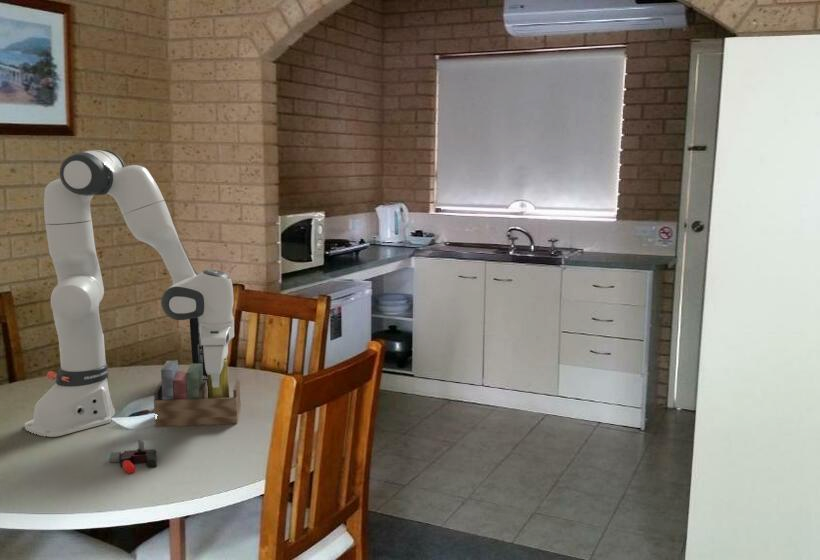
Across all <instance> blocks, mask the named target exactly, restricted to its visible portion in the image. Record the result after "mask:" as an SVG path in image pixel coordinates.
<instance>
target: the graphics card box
mask: <svg viewBox="0 0 820 560" xmlns="http://www.w3.org/2000/svg"><path fill="white" fill-rule="evenodd" d="M189 331H190V335H189V336H190V345H191V361H192V363H191V364H198V363H202V365H203V381H204V380H207V384H208V374H207V373H206V370H205V362H204V352H203V346H204V345H201V338H200V319H199V318H198V317H197V318H192V319H189Z"/></svg>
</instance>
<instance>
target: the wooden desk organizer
mask: <svg viewBox="0 0 820 560" xmlns="http://www.w3.org/2000/svg"><path fill="white" fill-rule="evenodd" d="M178 361H179V360H166V362H165V363H164V365H163V366H162V368H161V370H160V374H161V376H160V377H161V379H160V380H161V381H160V382H159V384H158V385H157V388H156V389H155V391H154V392H153V399H154V400H153V410H154V411H153V413H154V414H157V415H158V416H157V419H156V420H155V419H154V426H155V427H156V428H157V427H158V428H159V427H160V428H161V427H182V426H183V427H184V426H185V427H186V426H187V425H189V426H202V425H201V424H215V425H232V424H231V423H237V424H238V422H239V418H240V415H239V414H241V410H242V409H241V407H242V406H241V403H242V402H241V390H240V389H241V385H240V381H241V380H240V378H237V379H236V380H235V383H234V387H233V390H232V391H233V394H232V395H233V397H229V398H208V383H207V380H204V381H203V365H202V363H198V364H193V363H190V365H189V367H188V369H187V370H185V371H184V370H183V371H179V362H178ZM199 424H200V425H199Z"/></svg>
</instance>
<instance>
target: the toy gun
mask: <svg viewBox="0 0 820 560" xmlns="http://www.w3.org/2000/svg"><path fill="white" fill-rule="evenodd" d="M137 441H138V442H137V444H138V445H137V446H138V448H137V449H132V450H131V449H129V450H124V451H123V452H121V451H113V452H110V454H109V456H107V457H106V459H109V463H110V464H113V463H114V464H115V463H120V468H123V470H124V471H125V472H126V474H130V475H131V474H133V473H135V471H136V465H138V464H140V465H141V464H145V465H146V467H147V468H149V469H151V468H157V458H158V457H157V449H156V448H155V449H154V448H153V449H151V448H150V449H145V442H144V441H143V440H142V439H141V438H138V439H137Z"/></svg>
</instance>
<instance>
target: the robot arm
mask: <svg viewBox="0 0 820 560" xmlns="http://www.w3.org/2000/svg"><path fill="white" fill-rule="evenodd" d="M59 169H60V170H59V177H60V178H58V179H54V180H52V181H50V182H48V184H47V185H46V186H45V189H44V195H43V196H44V198H43V213H44V214H43V215H44V223H45V231H46V239H47V245H48V251H49V252H48V253H49V256H50V257H51V260H52V263H53V267H54V269H55V273H56V277H57V285H55V286H54V288H53V289H52V291H51V296H50V307H51V310H52V314H53V321H54V325H55V329H56V333H57V338H58V346H59V348H58V349H59V360H60V367H59V369H58V373H57V372H56V371H52V370H50V371H47V373H46V378H48V379H49V380H53V381H54V380H55V384H53V385H52V387H51V388H50V389H49V390H47V392H46V393H45V394H44V395H42V396H41V398H40V399H39V400H38V401H36V403H35V405H34V410H33V418H32V419H31V420H28V421H26V422H24V430H26V431H27V432H28V431H29V433H30V432H31V434H33V433H34V434H33V435H36V434H37V435H36V436H41V437H46V436H47V437H48V438H49V437H50V438H56V437H60V436H64V435H67V434H72V433H77V432H79V431H83V430H87V429H91V428H95V427H99V426H102V425H106V424H109V423H111V422H112V421H111V419H112V418H113V417H114V416H115V414H116V410H115V407H114V405H113V403H112V402H113V401H112V399H111V393H110V389H109V383H108V380H109V367H108V363H107V361H106V349H105V335H104V331H103V327H102V322H101V317H100V316H101V315H100V309H99V308H100V303H101V301H102V300H103V298H104V295H105V287H104V282H103V276H102V271H101V266H100V263H99V258H98V255H97V251H96V250H97V249H96V244H95V243H96V242H95V234H94V228H93V227H94V226H93V220H92V211H91V202H92V199H93V198H94V196H105V195H109V196H111V197H112V198H113V199H114V200H115V202H116V203H117V205H118V207H119V210H120V212H121V215H122V217H123V219H124V222H125V224H126V227H127V228H128V229H129V231H130V233H131V234H132V235H133V237H134V238H135V239H137V241H139V242H143V243H145V244H147V245H149V246H151V247H153V249H155V251H157V252H158V254H159V256H161V259H162V261H163V262H164V265H165V267H166V269H167V271H168V273H169V276H170V277H171V280H172V285H170V287H168V288H167V289H166V290H165V291H164V292H163V294H162V295H161V296H162V297H161V300H160V301H161V307H162V311H163V312H164V314H165V315H166V316H167V317H169V318H170V319H172V320H175V321H186V320H190V319H192V318H197V317H198V318H199V319H200V338H201V345H204V346H203V352H204V362H205V370H206V373H207V374H208V375H211V379H212V387H214V388H215V387H219V385H220V379H219V375H220V373H221V371H222V368H223V365H224V361H225V358H227V359H228V355H229V344H230V341H231V340H233V338H234V337H235V317H234V315H233V307H234V301H235V300H234V288H233V282H232V279H231V276H230V275H229V274H228V273H225V272H224V271H221V270H217V269H205V270H202V271H201V272H200V273H198V272H197V271H196V269H195V268H194V266H193V263H192V262H191V260H190V258H189V256H188V253H187V252H186V249H185V248H184V245H183V243H182V241H181V239H180V238H179V235H178V232H177V229H176V227H175V225H174V222H173V220H172V217H171V213H170V211H169V208H168V206H167V203H166V201H165V199H164V196H163V194H162V192H161V190H160V188H159V186H158V184H157V182H156V181H155V179H154V178H153V176H152V174H151V173H150V171H149V170H148V168H146V167H144V166H142V165H137V164H135V165H134V164H132V165H126V164H125V162H124V161H123V159H122V158H121V157H120V155H118V154H117V153H114V152H113V151H110V150H105V149H102V150H100V149H89V150H86V151H82V152H81V151H77V152H75V153H73V154H71V155H69V156H68V157H66V158H65V159H64V160H63V162H62V163H61V166H60V168H59ZM111 417H112V418H111Z"/></svg>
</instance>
